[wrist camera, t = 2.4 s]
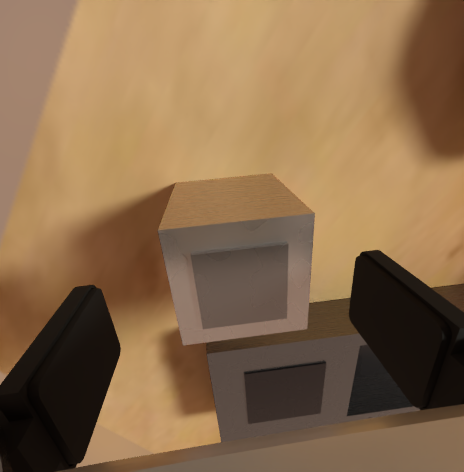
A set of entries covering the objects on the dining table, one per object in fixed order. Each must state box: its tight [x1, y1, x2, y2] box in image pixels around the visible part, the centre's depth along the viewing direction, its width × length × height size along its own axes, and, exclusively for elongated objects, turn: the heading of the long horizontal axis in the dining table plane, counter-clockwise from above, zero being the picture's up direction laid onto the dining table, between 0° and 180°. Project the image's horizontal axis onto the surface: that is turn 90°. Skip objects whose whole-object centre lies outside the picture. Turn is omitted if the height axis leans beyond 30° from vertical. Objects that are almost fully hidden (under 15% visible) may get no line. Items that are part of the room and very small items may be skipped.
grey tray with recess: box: [207, 284, 464, 443], centre depth 19 cm, size 9×22×3 cm, turn 95°
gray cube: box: [158, 173, 315, 345], centre depth 12 cm, size 5×5×6 cm
